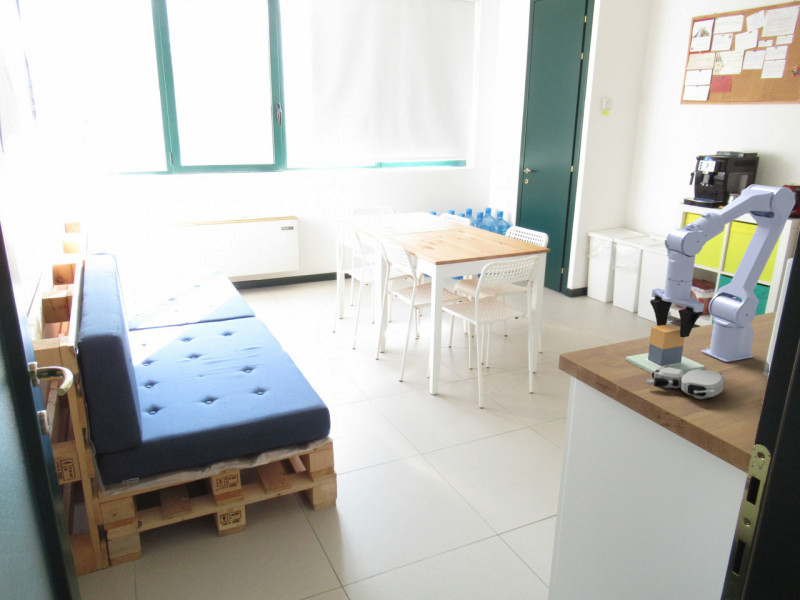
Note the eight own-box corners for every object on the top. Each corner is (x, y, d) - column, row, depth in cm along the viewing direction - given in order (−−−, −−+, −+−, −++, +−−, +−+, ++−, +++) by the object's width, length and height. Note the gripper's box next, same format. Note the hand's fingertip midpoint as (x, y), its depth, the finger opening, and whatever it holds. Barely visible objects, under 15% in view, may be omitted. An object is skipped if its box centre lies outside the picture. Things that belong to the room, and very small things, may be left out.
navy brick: (668, 356, 153) (670, 340, 151) (681, 362, 149) (683, 346, 147) (647, 359, 151) (649, 343, 149) (660, 365, 147) (662, 349, 145)
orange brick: (669, 340, 151) (671, 323, 150) (683, 345, 147) (685, 329, 146) (649, 343, 149) (651, 326, 148) (662, 349, 145) (664, 332, 144)
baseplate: (668, 352, 158) (668, 349, 157) (704, 369, 147) (705, 365, 147) (625, 359, 153) (625, 356, 153) (659, 377, 142) (660, 374, 142)
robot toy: (643, 394, 136) (716, 408, 126) (644, 376, 135) (717, 388, 125) (659, 377, 145) (728, 388, 136) (659, 359, 144) (729, 370, 135)
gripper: (644, 273, 149) (639, 324, 153) (689, 287, 136) (682, 343, 140) (666, 271, 152) (660, 321, 155) (713, 284, 138) (705, 339, 142)
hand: (672, 331), depth 148 cm, fingers open, 7 cm apart
